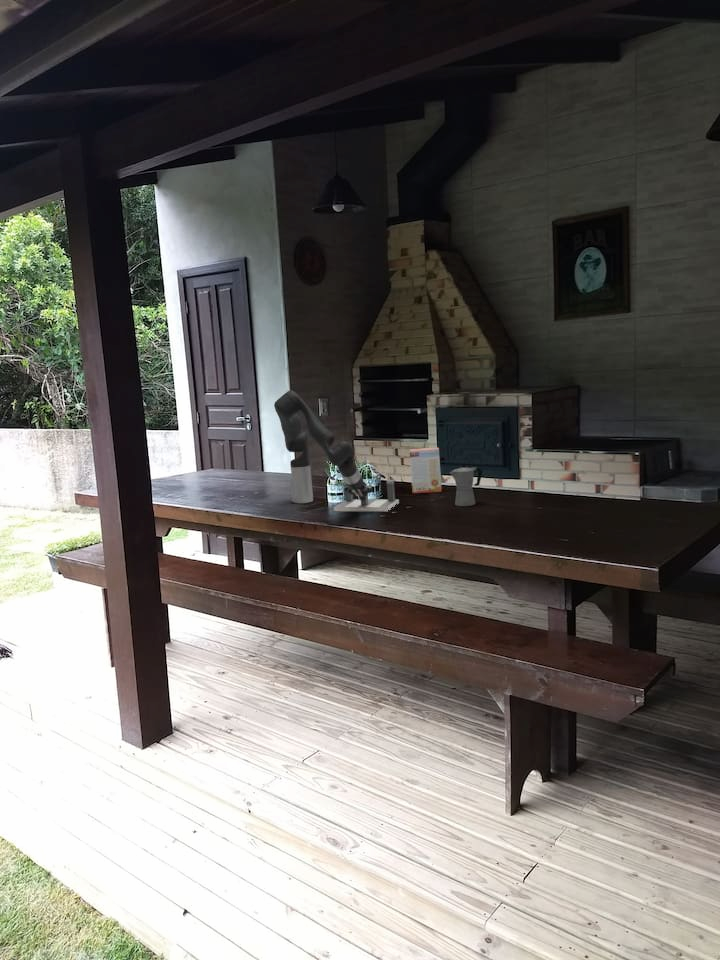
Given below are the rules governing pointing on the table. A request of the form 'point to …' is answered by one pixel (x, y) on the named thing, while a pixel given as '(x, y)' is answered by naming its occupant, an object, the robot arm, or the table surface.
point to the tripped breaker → (365, 499)
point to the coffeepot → (465, 484)
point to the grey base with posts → (370, 502)
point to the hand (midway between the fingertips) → (363, 499)
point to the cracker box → (425, 470)
